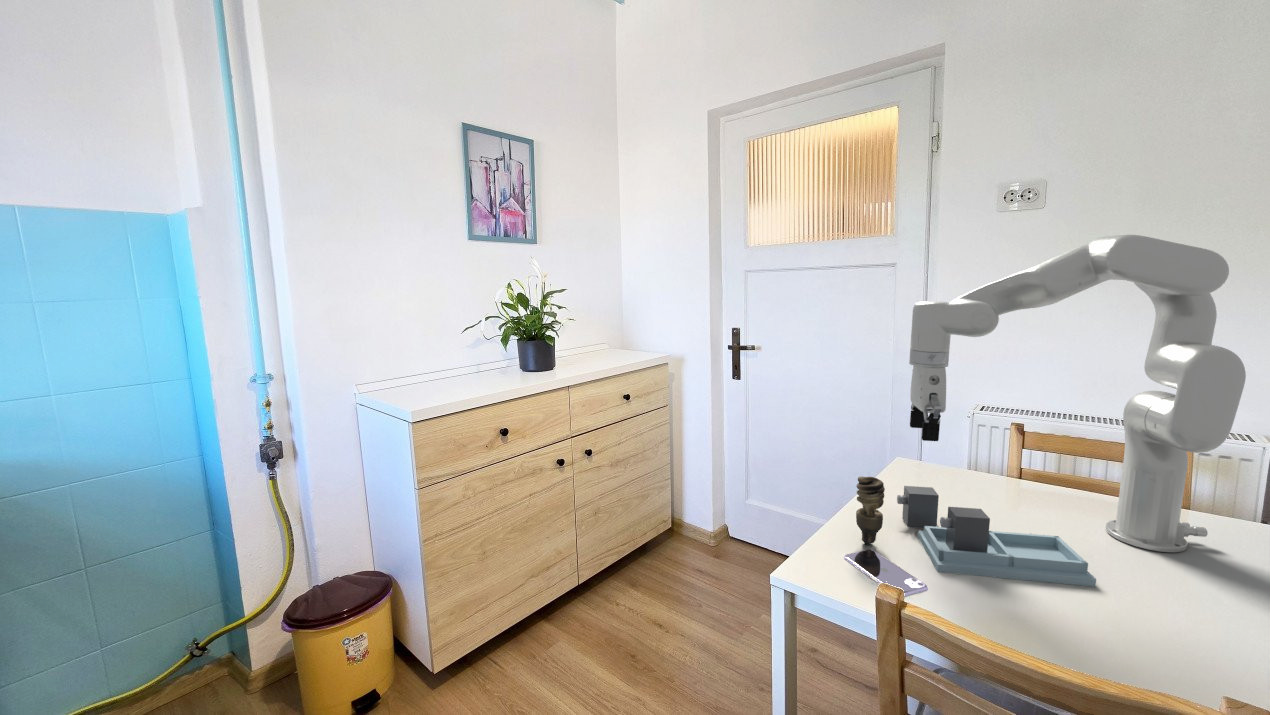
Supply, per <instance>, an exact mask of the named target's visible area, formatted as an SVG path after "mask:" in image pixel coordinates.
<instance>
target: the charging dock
mask: <svg viewBox="0 0 1270 715" xmlns="http://www.w3.org/2000/svg"><path fill="white" fill-rule="evenodd" d="M946 531H947V528H942V527H941V526H937V527H932V526H924V528H923V530H918V531H917V538H918V539H919V542H920V544H921V545H922V548H923V549H924V550H925V552H926V554H927V556H928V558H929V559H930V561H931V562H932V565H933V566H934V568H935V569H936V572H937V573H946V574H957V575H958V574H959V575H968V576H978V577H987V578H988V577H989V578H999V579H1010V580H1021V581H1032V582H1040V583H1041V582H1042V583H1053V584H1065V585H1074V586H1085V587H1094V588H1095V587H1096V585H1097V578H1096V577H1095V576H1094V575H1093V574H1091V573H1090V571H1089V568H1088V567H1089V562H1087V561H1086V560H1085V559H1084V558H1083V557H1082V556H1081V555H1080V554H1078V552H1076V551H1075V550H1074V549H1073V548H1072V547H1071V546H1070V545H1068V544H1067V543H1066V542H1065V541H1064V540H1063V539H1062V538H1061V537H1060V536H1058V535H1050V534H1049V535H1048V534H1038V533H1037V534H1035V533H1021V532H1010V531H995V530H989V537H988V549H987V553H982V552H970V551H959V550H950V549H949V547H948V546H947V544H946Z"/></svg>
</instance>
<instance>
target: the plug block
mask: <svg viewBox="0 0 1270 715" xmlns="http://www.w3.org/2000/svg"><path fill="white" fill-rule="evenodd" d="M896 502H897V504H898V505H902V520H903V521H904V524H905V525H906V527H907V528H915V529H916V528H917V529H918V528H919V529H924V526H932V527H938V526H937V524H938V511H939V510H938V509H939V494H938V493H937V491H936V490H935V489H934V487H931V486H930V487H929V486H927V487H926V486H913V485H903V495H901V494H897V496H896Z"/></svg>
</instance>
